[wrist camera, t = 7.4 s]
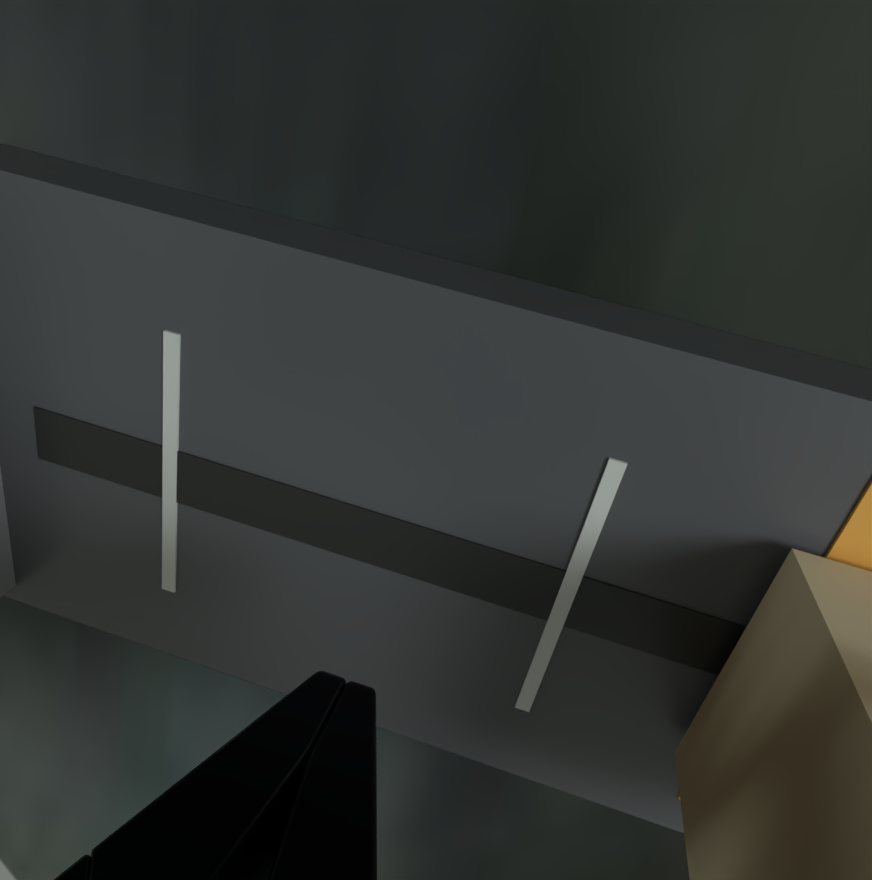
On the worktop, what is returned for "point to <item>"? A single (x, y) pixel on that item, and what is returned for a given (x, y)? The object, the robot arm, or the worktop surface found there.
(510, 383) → the fader console
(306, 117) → the worktop surface
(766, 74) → the worktop surface
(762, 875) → the fader knob
